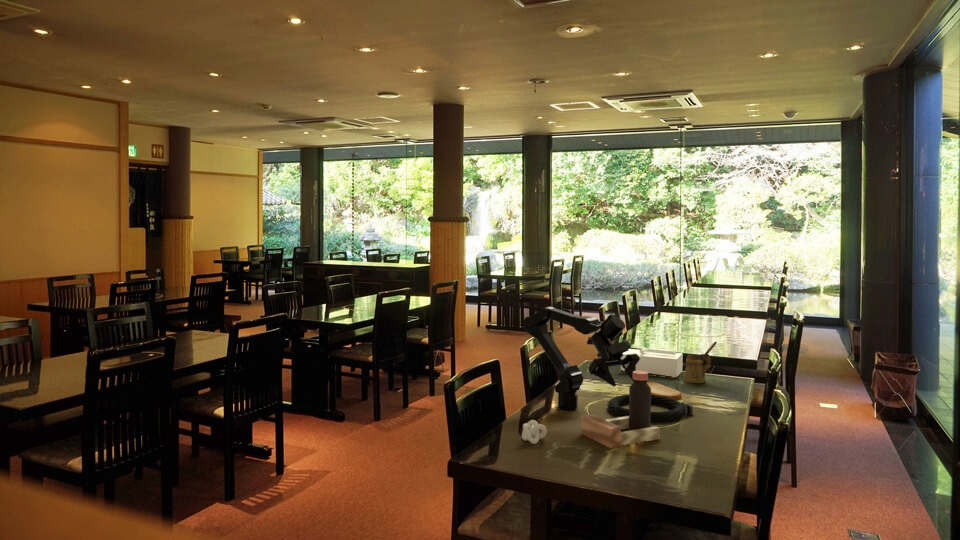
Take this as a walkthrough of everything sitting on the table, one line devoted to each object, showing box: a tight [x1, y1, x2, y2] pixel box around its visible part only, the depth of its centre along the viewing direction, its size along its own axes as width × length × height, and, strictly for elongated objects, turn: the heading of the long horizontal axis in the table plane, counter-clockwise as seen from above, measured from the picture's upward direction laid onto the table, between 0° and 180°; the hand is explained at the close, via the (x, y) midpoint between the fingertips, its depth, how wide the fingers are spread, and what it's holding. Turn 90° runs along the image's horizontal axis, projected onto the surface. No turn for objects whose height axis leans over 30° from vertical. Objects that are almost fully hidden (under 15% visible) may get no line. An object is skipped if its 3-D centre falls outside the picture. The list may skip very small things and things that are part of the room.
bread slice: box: [647, 381, 683, 401], centre depth 253 cm, size 18×18×4 cm
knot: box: [521, 419, 547, 445], centre depth 196 cm, size 8×8×6 cm
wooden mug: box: [682, 341, 718, 384], centre depth 272 cm, size 9×14×18 cm, turn 68°
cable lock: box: [606, 393, 694, 423], centre depth 228 cm, size 28×4×30 cm
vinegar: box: [628, 371, 652, 431], centre depth 203 cm, size 7×7×20 cm
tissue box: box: [620, 347, 684, 378], centre depth 292 cm, size 14×25×11 cm, turn 62°
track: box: [580, 413, 661, 449], centre depth 200 cm, size 20×15×6 cm
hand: (626, 384), depth 210 cm, fingers open, 9 cm apart
